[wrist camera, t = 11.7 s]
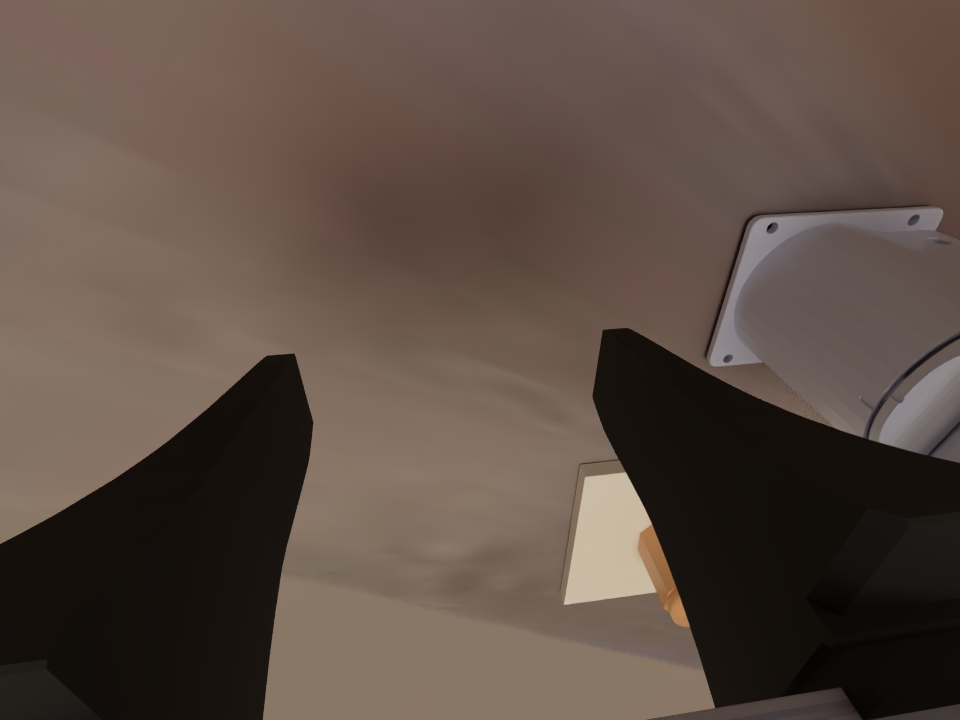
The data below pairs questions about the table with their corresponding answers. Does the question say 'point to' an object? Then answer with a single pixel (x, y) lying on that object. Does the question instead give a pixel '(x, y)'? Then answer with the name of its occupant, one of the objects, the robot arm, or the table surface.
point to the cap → (661, 575)
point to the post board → (605, 537)
